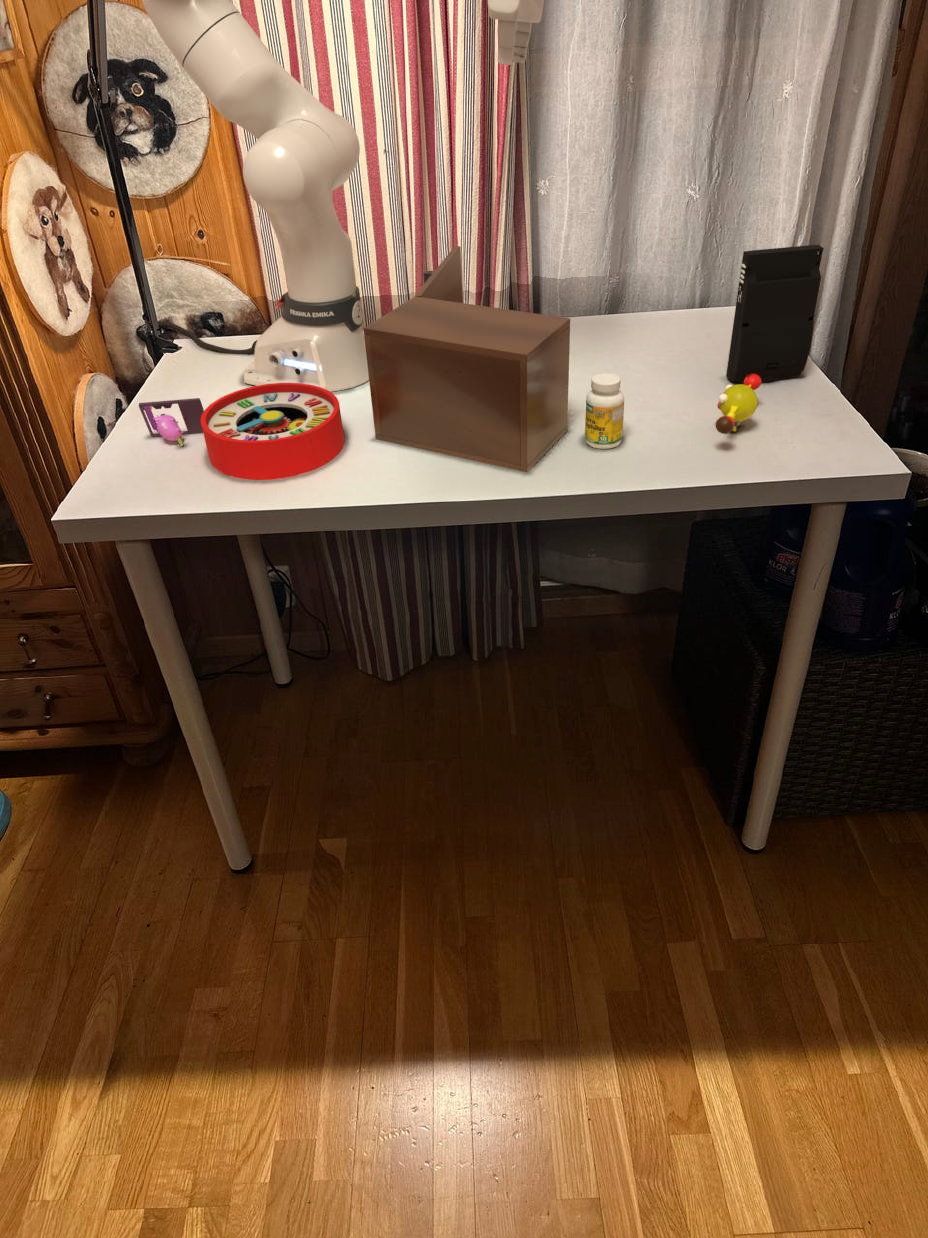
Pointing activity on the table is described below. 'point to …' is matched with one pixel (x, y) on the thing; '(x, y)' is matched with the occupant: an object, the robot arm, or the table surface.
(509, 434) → the cabinet
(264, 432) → the toy clock
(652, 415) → the table surface
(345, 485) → the table surface
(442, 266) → the cabinet door
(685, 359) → the table surface
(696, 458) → the table surface
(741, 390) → the toy figure
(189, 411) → the pink toy with backboard
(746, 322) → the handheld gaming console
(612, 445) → the supplement bottle
